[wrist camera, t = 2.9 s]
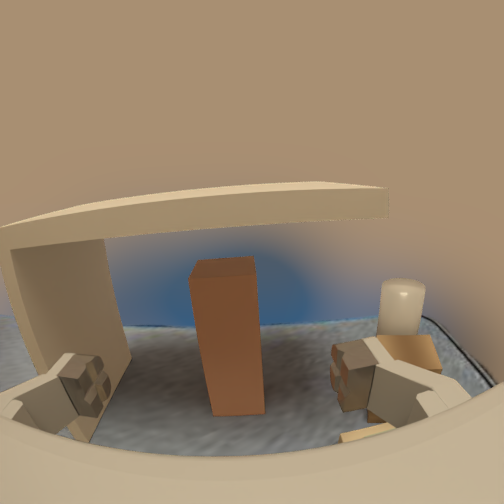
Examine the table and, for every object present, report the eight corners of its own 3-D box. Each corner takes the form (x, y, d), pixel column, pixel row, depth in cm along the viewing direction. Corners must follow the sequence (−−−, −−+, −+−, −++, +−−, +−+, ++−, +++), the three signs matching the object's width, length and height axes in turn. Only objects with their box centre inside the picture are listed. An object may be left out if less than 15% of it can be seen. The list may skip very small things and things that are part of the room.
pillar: (265, 413, 22) (256, 274, 19) (213, 416, 22) (188, 278, 19) (262, 382, 27) (253, 256, 23) (216, 384, 27) (197, 260, 23)
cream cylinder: (366, 370, 26) (377, 291, 24) (378, 349, 30) (387, 275, 27) (405, 379, 24) (423, 298, 21) (413, 356, 27) (427, 281, 25)
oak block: (367, 423, 20) (380, 370, 18) (367, 386, 24) (376, 335, 23) (421, 421, 18) (442, 368, 16) (415, 385, 22) (429, 334, 21)
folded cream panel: (355, 441, 18) (388, 188, 13) (75, 439, 17) (-7, 229, 13) (318, 349, 31) (318, 181, 27) (121, 357, 31) (87, 203, 26)
